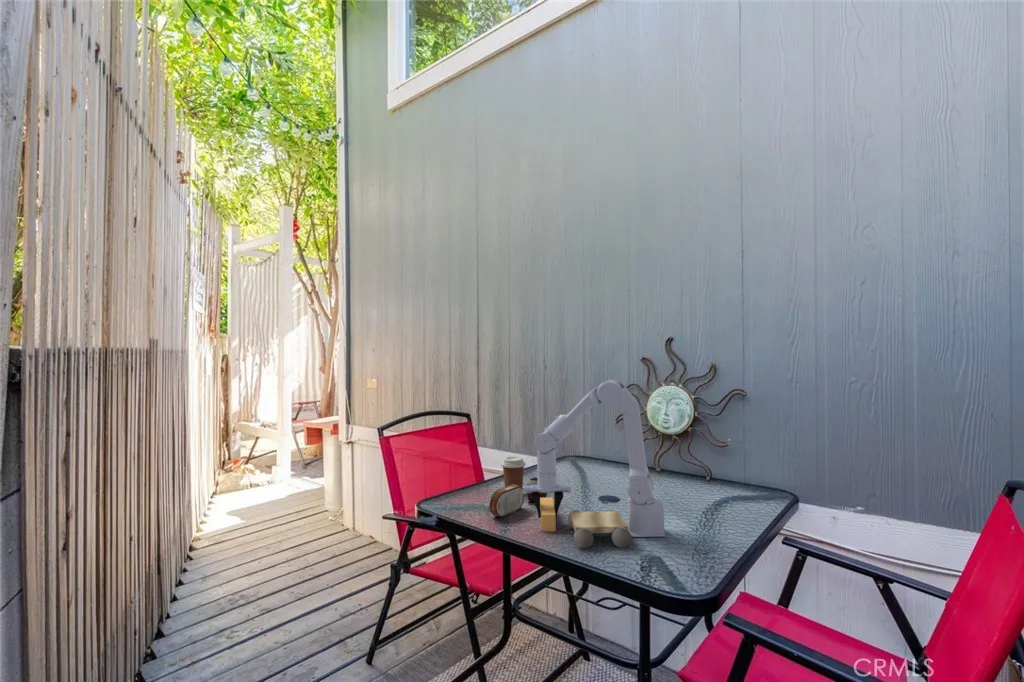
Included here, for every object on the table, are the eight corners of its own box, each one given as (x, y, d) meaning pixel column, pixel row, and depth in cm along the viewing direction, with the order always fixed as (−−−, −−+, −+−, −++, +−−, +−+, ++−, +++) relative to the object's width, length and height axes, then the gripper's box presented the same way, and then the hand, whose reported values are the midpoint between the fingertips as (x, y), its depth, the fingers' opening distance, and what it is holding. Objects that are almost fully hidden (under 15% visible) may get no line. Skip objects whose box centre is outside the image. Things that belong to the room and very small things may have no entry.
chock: (552, 513, 156) (552, 497, 156) (555, 532, 140) (555, 514, 140) (540, 513, 156) (540, 497, 156) (541, 532, 140) (541, 514, 140)
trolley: (618, 526, 143) (618, 509, 143) (631, 547, 128) (631, 528, 128) (567, 527, 143) (567, 510, 143) (574, 548, 128) (574, 529, 128)
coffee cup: (499, 494, 176) (499, 461, 176) (503, 487, 185) (502, 455, 185) (524, 494, 175) (524, 461, 175) (527, 487, 184) (526, 455, 184)
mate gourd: (529, 507, 162) (529, 461, 162) (524, 500, 169) (523, 456, 170) (551, 505, 163) (550, 460, 163) (545, 498, 171) (544, 455, 171)
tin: (519, 506, 163) (518, 480, 163) (526, 508, 161) (526, 482, 161) (488, 519, 151) (488, 491, 151) (496, 521, 149) (495, 493, 149)
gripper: (568, 468, 152) (569, 511, 152) (522, 468, 152) (523, 512, 152) (571, 473, 145) (572, 519, 145) (523, 474, 145) (524, 520, 145)
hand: (547, 516), depth 148 cm, fingers open, 4 cm apart
